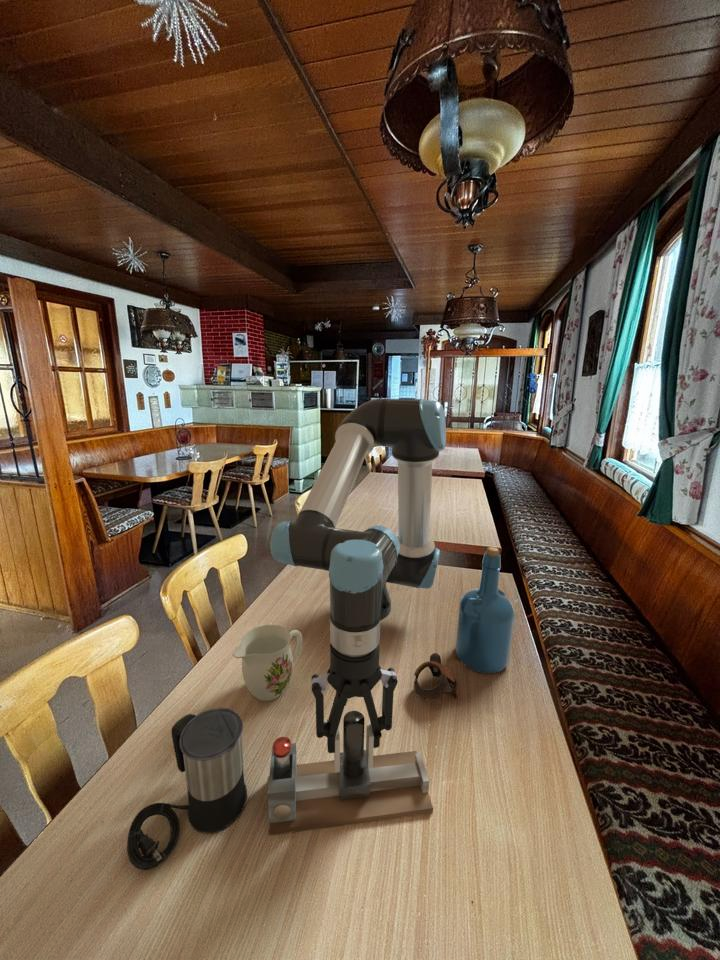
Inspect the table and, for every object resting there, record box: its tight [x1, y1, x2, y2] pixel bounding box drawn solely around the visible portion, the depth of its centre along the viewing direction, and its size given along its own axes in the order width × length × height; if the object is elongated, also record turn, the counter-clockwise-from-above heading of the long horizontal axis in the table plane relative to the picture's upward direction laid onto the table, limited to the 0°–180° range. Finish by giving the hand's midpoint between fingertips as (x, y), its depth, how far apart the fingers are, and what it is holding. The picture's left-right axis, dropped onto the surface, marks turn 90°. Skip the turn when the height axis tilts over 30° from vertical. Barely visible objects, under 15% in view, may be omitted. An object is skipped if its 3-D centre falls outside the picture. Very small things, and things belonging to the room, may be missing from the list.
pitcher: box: [232, 624, 303, 702], centre depth 86 cm, size 11×18×14 cm, turn 141°
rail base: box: [267, 742, 434, 836], centre depth 65 cm, size 10×26×7 cm, turn 98°
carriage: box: [338, 710, 371, 801], centre depth 63 cm, size 6×5×14 cm
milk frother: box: [126, 707, 248, 871], centre depth 59 cm, size 14×16×15 cm
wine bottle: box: [455, 546, 516, 675], centre depth 94 cm, size 14×13×30 cm
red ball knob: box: [272, 736, 292, 776], centre depth 62 cm, size 3×3×5 cm
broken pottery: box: [413, 652, 460, 703], centre depth 87 cm, size 12×10×8 cm
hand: (353, 762), depth 64 cm, fingers open, 5 cm apart
